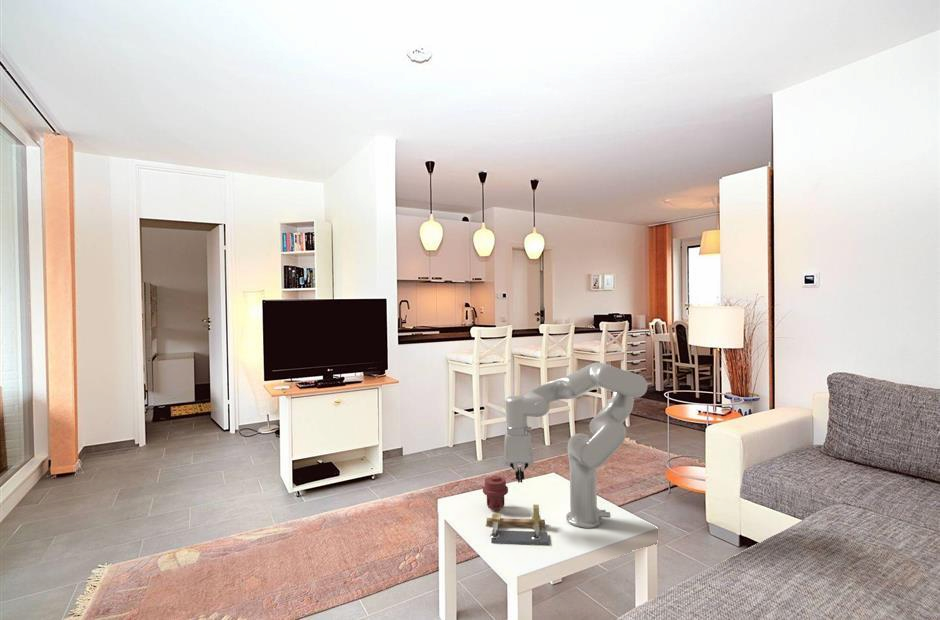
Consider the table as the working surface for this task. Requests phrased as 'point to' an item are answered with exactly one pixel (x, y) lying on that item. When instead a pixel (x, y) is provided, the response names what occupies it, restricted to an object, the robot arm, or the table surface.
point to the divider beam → (509, 522)
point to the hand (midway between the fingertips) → (520, 481)
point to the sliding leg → (536, 520)
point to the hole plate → (519, 537)
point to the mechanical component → (495, 492)
